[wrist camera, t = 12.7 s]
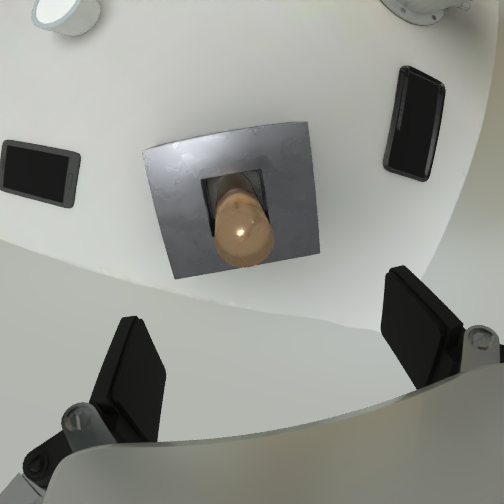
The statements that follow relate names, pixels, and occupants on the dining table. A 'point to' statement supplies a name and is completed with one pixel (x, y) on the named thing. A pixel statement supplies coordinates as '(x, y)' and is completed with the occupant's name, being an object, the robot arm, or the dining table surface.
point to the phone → (414, 124)
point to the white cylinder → (66, 15)
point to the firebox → (227, 162)
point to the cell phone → (39, 172)
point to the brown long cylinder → (241, 223)
